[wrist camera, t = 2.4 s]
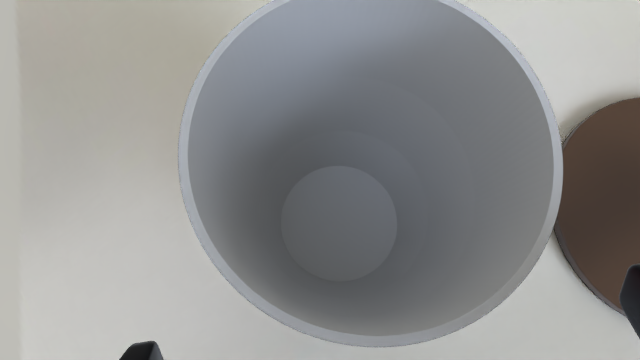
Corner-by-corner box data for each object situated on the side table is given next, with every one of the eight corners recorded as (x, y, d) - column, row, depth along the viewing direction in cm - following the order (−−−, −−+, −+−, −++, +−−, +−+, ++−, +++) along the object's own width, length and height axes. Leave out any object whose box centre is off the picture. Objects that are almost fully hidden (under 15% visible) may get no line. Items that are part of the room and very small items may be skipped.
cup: (234, 321, 19) (158, 342, 9) (246, 126, 21) (195, -30, 11) (440, 325, 19) (584, 350, 9) (432, 131, 21) (544, -17, 11)
